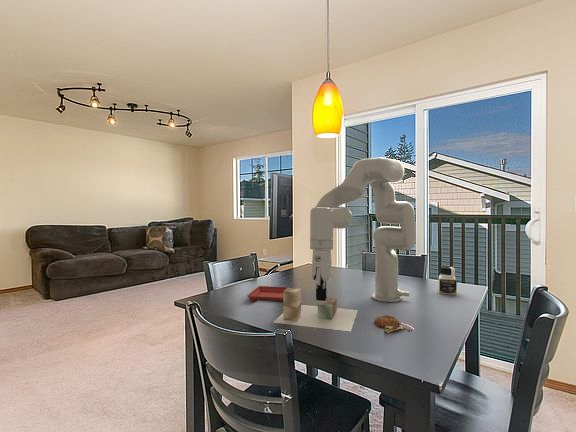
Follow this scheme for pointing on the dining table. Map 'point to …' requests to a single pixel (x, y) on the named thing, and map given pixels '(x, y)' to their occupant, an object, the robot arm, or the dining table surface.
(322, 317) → the walnut block
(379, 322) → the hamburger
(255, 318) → the dining table surface
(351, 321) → the slab
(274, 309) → the dining table surface
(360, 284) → the dining table surface
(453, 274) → the medicine bottle
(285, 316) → the maple block
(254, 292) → the red tray
